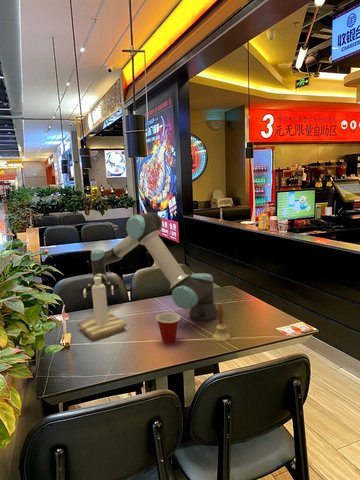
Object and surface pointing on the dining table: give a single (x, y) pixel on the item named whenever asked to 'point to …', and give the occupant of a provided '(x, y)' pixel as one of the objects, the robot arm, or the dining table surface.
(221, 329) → the hand bell
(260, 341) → the dining table surface
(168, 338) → the plastic cup
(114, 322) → the stand
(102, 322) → the spray bottle
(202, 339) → the dining table surface
